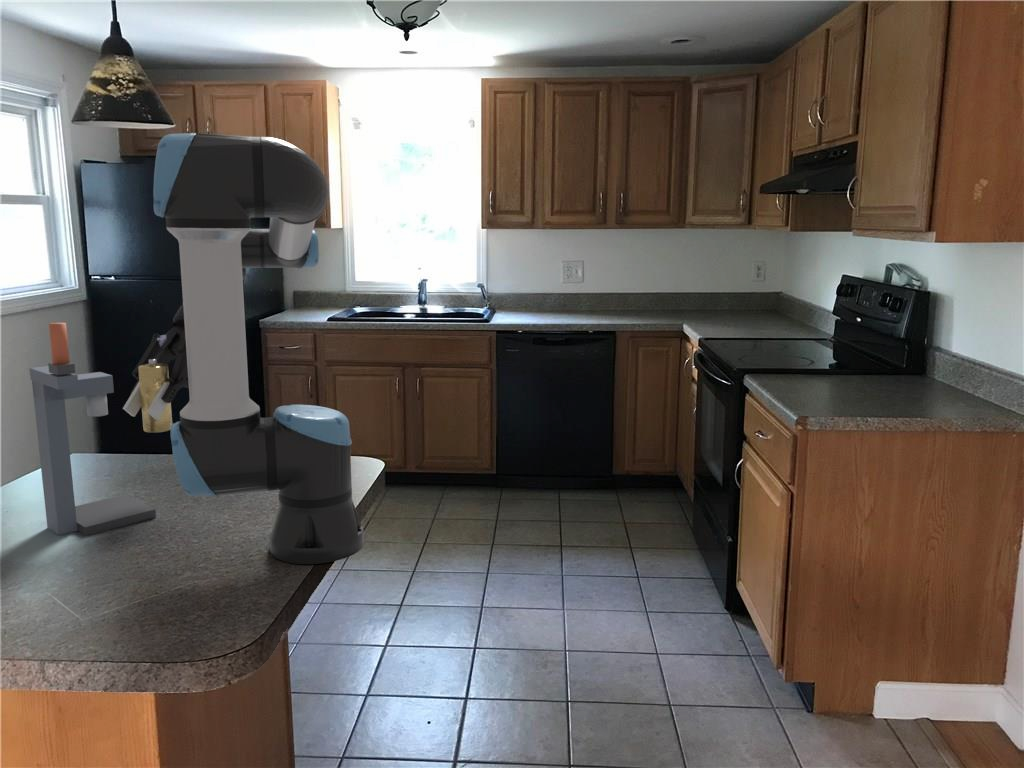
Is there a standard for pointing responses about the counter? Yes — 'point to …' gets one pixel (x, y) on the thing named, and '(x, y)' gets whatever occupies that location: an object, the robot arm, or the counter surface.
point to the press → (57, 455)
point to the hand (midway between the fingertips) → (140, 414)
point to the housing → (153, 395)
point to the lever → (60, 350)
